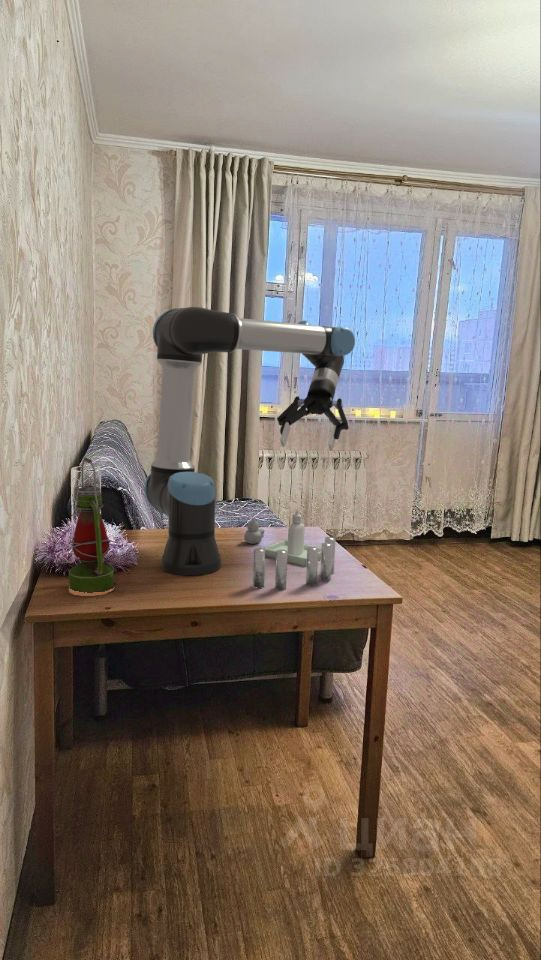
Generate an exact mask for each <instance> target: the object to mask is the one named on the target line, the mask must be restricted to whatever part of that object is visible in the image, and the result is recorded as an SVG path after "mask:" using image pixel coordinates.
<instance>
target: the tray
mask: <svg viewBox="0 0 541 960" xmlns="http://www.w3.org/2000/svg"><path fill="white" fill-rule="evenodd" d="M308 547H317V548H318V561H321V549H322V547H319V546H315V545H311V544H310V545H309V544H305V543H304V552H303V553H302V554H300V555H296V556H295V555H291V554H288V553H287V563H291V564H294V565H299V566H303V567H307V548H308ZM263 549H265V556H266V557H265V558H269V557H270V558H271V559H274V560H276V551H277V550H287V552H288V539H284V540H281V541H279V542H277V543H273V544H270V545H267V546H266V547H263Z"/></svg>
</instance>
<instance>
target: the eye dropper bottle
mask: <svg viewBox="0 0 541 960" xmlns="http://www.w3.org/2000/svg"><path fill="white" fill-rule="evenodd" d="M302 517H303V516H302V515H301V514H300V510H298V509H296V510H295V513H294V514H292V522H291V524H290V525H289V527H288V529H287V540H288V552H287V553H288V554H291V555H295V556H296V555H300V554H302V553H303V552H304V544H305V532H306V531H305V530H306V529H305V527H306V526H305V524H304V523H302Z"/></svg>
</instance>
